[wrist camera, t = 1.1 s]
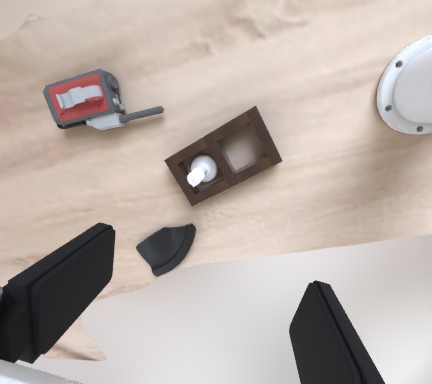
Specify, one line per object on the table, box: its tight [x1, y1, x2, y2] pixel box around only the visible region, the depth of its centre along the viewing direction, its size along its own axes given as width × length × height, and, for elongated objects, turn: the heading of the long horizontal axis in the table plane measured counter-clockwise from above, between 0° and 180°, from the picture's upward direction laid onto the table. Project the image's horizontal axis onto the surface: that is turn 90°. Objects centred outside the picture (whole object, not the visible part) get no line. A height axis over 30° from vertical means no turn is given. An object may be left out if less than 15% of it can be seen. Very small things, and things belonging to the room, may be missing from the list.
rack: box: [164, 106, 282, 206], centre depth 34 cm, size 17×9×3 cm, turn 119°
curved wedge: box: [136, 223, 196, 276], centre depth 42 cm, size 8×14×2 cm, turn 124°
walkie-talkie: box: [43, 69, 164, 130], centre depth 34 cm, size 9×4×20 cm
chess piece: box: [187, 155, 218, 187], centre depth 32 cm, size 5×5×10 cm
